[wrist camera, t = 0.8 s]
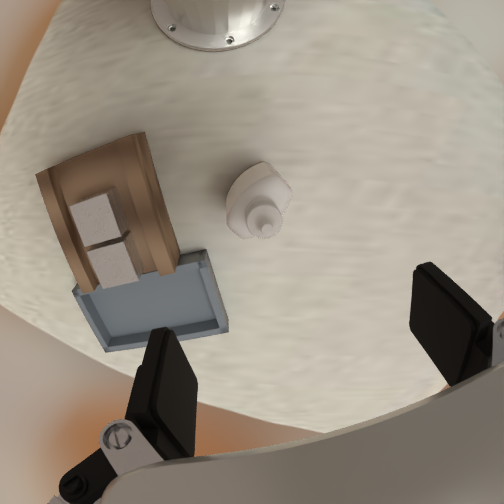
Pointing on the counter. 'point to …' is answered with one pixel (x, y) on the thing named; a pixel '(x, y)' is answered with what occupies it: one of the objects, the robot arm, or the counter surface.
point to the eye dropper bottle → (257, 202)
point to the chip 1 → (99, 217)
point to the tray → (157, 306)
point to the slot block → (131, 196)
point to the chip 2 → (116, 261)
